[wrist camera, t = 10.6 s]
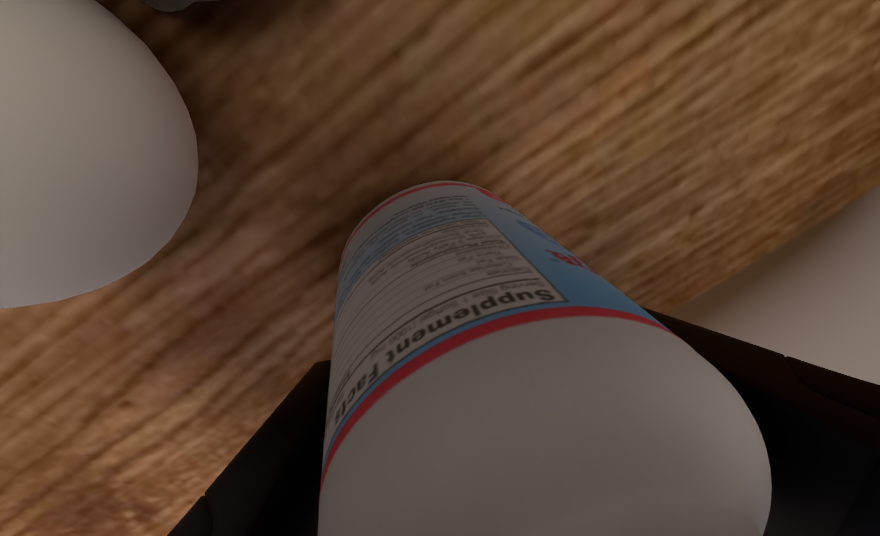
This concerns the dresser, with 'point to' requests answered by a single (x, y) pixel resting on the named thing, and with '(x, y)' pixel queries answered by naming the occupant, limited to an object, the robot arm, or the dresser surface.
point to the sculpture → (170, 4)
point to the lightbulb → (84, 151)
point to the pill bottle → (518, 391)
